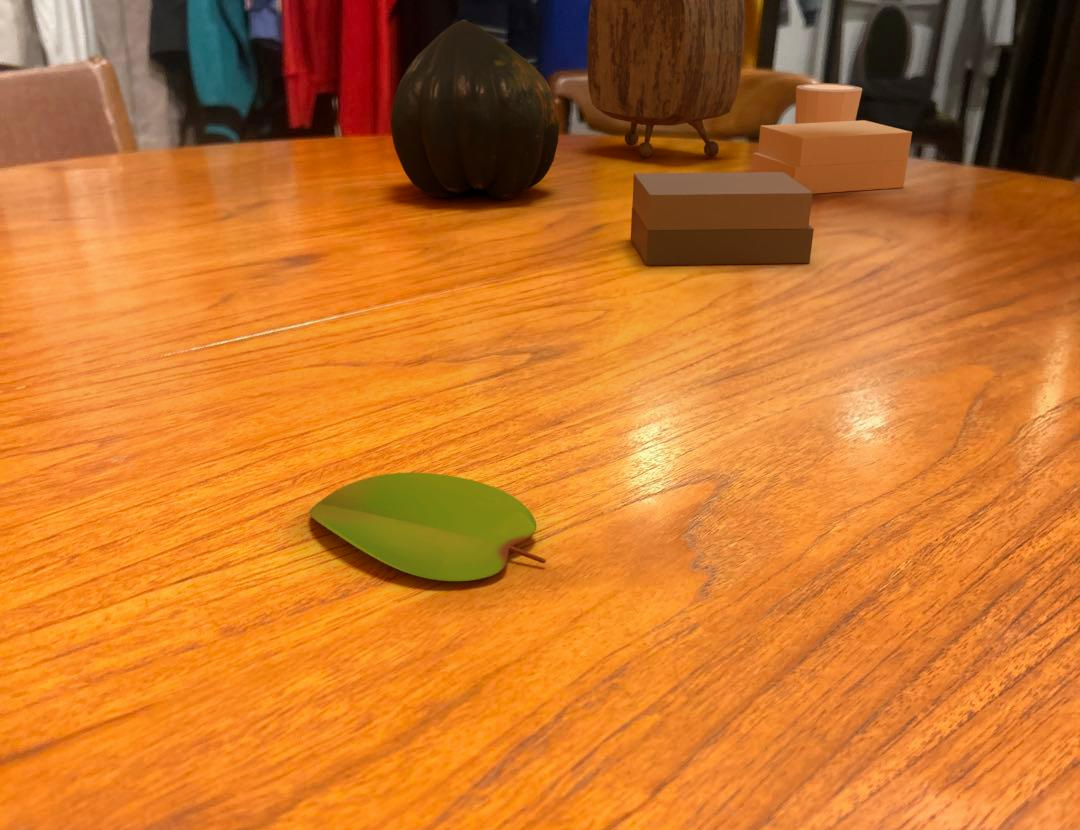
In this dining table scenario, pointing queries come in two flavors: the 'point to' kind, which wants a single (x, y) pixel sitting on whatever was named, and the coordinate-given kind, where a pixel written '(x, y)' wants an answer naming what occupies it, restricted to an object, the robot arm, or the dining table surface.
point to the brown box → (721, 218)
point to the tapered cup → (826, 103)
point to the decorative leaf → (429, 524)
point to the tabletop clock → (665, 62)
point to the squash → (473, 117)
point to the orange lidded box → (835, 155)
